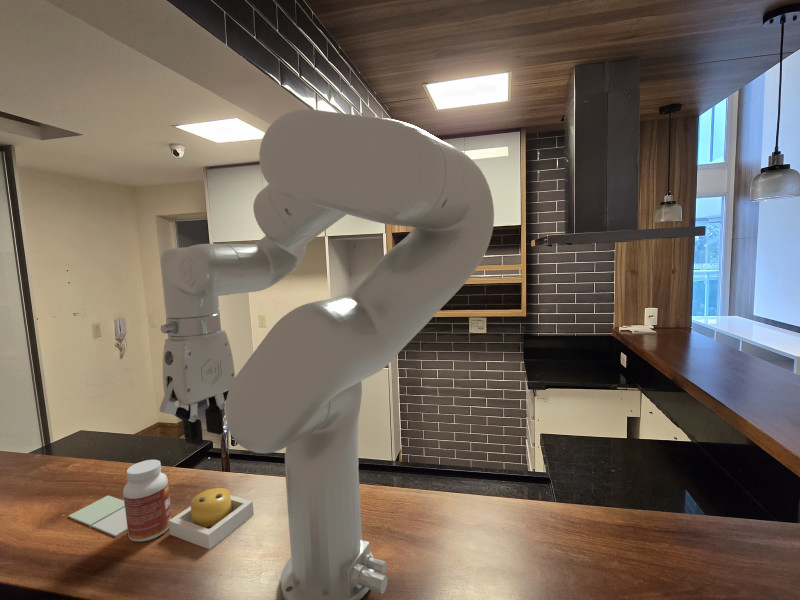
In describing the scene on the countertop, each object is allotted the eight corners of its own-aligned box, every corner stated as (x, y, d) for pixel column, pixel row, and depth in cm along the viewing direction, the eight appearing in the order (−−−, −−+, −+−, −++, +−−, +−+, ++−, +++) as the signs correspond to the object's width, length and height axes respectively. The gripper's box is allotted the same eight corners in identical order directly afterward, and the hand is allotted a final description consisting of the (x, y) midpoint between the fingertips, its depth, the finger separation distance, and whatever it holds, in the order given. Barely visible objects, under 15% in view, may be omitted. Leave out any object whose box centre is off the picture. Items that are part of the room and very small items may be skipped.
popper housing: (253, 514, 70) (252, 501, 69) (209, 549, 62) (208, 534, 61) (216, 502, 74) (215, 490, 73) (170, 534, 65) (168, 520, 65)
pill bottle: (177, 529, 67) (170, 465, 65) (133, 549, 62) (125, 481, 61) (166, 513, 71) (160, 453, 70) (124, 530, 67) (117, 466, 66)
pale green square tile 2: (129, 504, 74) (129, 502, 74) (90, 526, 68) (90, 524, 68) (108, 496, 77) (108, 495, 77) (68, 517, 71) (68, 515, 71)
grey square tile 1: (155, 513, 71) (154, 511, 71) (116, 537, 65) (115, 535, 65) (131, 505, 74) (131, 503, 74) (92, 527, 68) (92, 525, 68)
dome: (239, 508, 69) (238, 491, 68) (210, 531, 63) (208, 511, 63) (214, 501, 71) (212, 483, 71) (183, 521, 66) (181, 503, 66)
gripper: (160, 338, 55) (174, 466, 57) (251, 319, 70) (259, 421, 72) (126, 335, 58) (139, 457, 60) (220, 317, 73) (228, 416, 75)
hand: (205, 436), depth 66 cm, fingers open, 3 cm apart
